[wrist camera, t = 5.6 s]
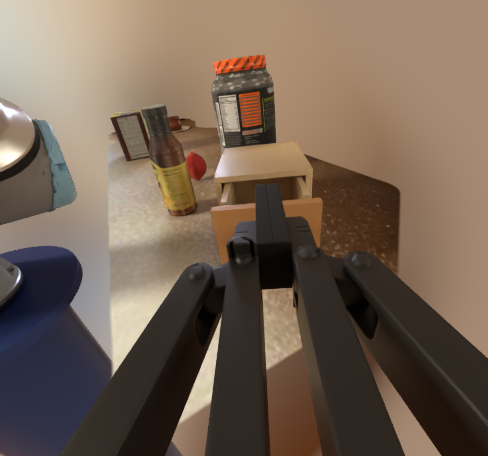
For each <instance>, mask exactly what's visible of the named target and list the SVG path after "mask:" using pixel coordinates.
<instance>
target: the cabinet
mask: <svg viewBox="0 0 488 456" xmlns="http://www.w3.org/2000/svg"><path fill="white" fill-rule="evenodd" d="M312 174H313V168H312V167H311V165H310V163H309V162H308V160H307V159H306V157H305V156H304V154H303V153H302V151H301V150H300V148H299V146H298V145H297V143H296V142H295V141H291V142H282V143H272V144H263V145H253V146H244V147H235V148H225V149H224V151H223V154H222V157H221V159H220V162H219V165H218V168H217V170H216V173H215V176H214V183H215V188H216V194H217V199H218V204H219V206H221V204H220V202H221V198H222V194H223V190H224V186H225V183H227V182H237V181H248V180H258V179H269V178H279V177H290V176H302V179H303V181H304V183H305V185H306V187H307V189H308V191H309V193H310V198H311V197H312Z"/></svg>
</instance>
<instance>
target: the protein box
mask: <svg viewBox="0 0 488 456" xmlns="http://www.w3.org/2000/svg"><path fill="white" fill-rule="evenodd" d="M110 118H111V121H112V124H113V126H114V129H115V131H116V134H117V137H118V139H119V142H120V145H121V147H122V150H123V152H124V155H125V157H126V160H127V161H130V160H135V159H140V158H145V157H149V148H150V136H149V133H148V129H147V126H146V123H145V120H144V118H143V116H142V112H141V109H139V110H133V111H125V112H119V113H114V114H113V115H112V116H111V117H110Z"/></svg>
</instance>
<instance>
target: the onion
mask: <svg viewBox="0 0 488 456" xmlns="http://www.w3.org/2000/svg"><path fill="white" fill-rule="evenodd" d="M186 162H187V166H188V170H189V174H190V177H191V178H193V179H195V180H197V181H198V180H200V179H201V178H202V177H203V175H204V174H205V172H206V167H207V166H206V163H205V161H204V159H203V158H202V157H201V156H199V155H198V154H195V152H194V151H193V150H192V151H190V154H189V155H188V156H187V158H186Z"/></svg>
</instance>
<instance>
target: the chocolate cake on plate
mask: <svg viewBox="0 0 488 456" xmlns="http://www.w3.org/2000/svg"><path fill="white" fill-rule="evenodd" d="M168 121H169V125H170V128H171V133H173V132H179V131H184V130H187V129H189V128H190V127H182V125H181V123H180V122H179V116H172V117H168Z"/></svg>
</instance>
